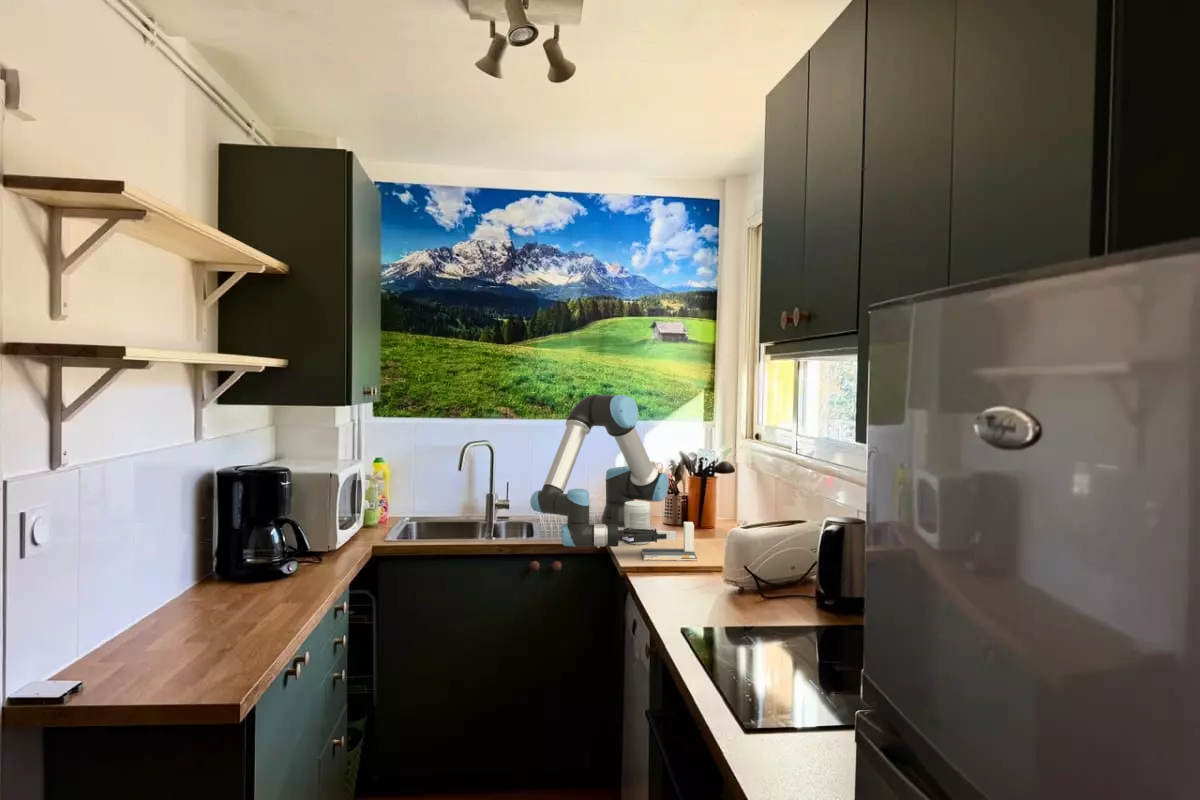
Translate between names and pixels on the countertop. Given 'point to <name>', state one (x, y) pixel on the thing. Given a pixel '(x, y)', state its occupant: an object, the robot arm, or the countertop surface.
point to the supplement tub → (637, 516)
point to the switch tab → (688, 537)
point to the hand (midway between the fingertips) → (675, 535)
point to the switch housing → (668, 553)
